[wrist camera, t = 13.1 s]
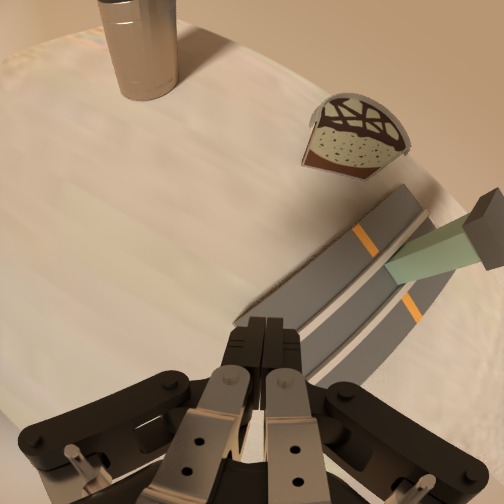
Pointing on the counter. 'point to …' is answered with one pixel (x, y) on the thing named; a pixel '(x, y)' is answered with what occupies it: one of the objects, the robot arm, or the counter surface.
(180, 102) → the counter surface
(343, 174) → the food container
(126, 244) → the counter surface
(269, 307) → the slider console
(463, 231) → the fader tab
